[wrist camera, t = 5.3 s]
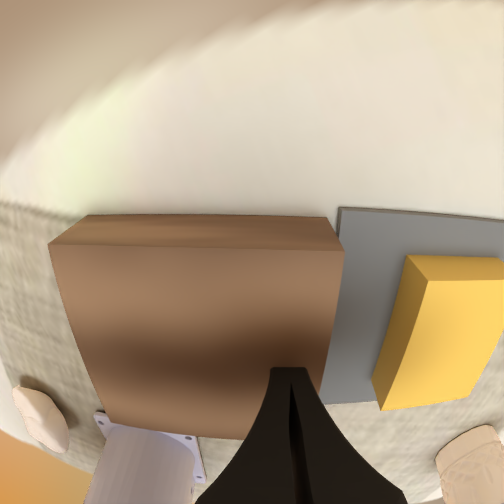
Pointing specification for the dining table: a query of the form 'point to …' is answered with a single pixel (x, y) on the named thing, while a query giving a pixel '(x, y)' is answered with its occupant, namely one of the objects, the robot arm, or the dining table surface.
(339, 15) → the dining table surface
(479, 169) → the dining table surface
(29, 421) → the dumpling
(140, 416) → the brown cuboid
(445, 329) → the yellow cuboid
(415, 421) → the dining table surface
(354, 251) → the mat
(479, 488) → the white cup
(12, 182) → the dining table surface
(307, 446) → the robot arm
